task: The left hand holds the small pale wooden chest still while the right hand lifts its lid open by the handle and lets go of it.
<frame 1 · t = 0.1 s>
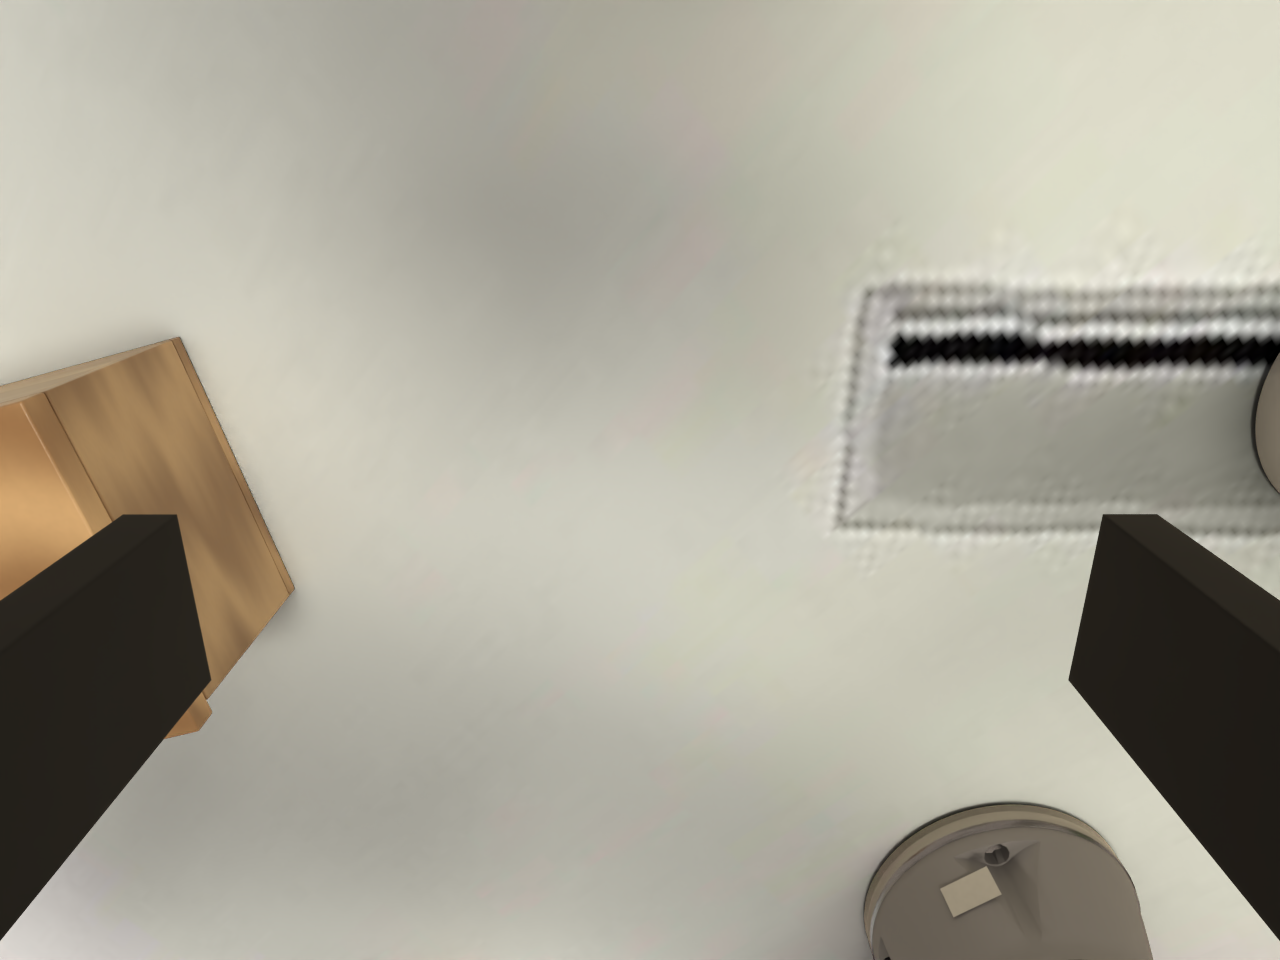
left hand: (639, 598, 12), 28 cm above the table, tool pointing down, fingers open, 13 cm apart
chest: (151, 492, 42), on the table
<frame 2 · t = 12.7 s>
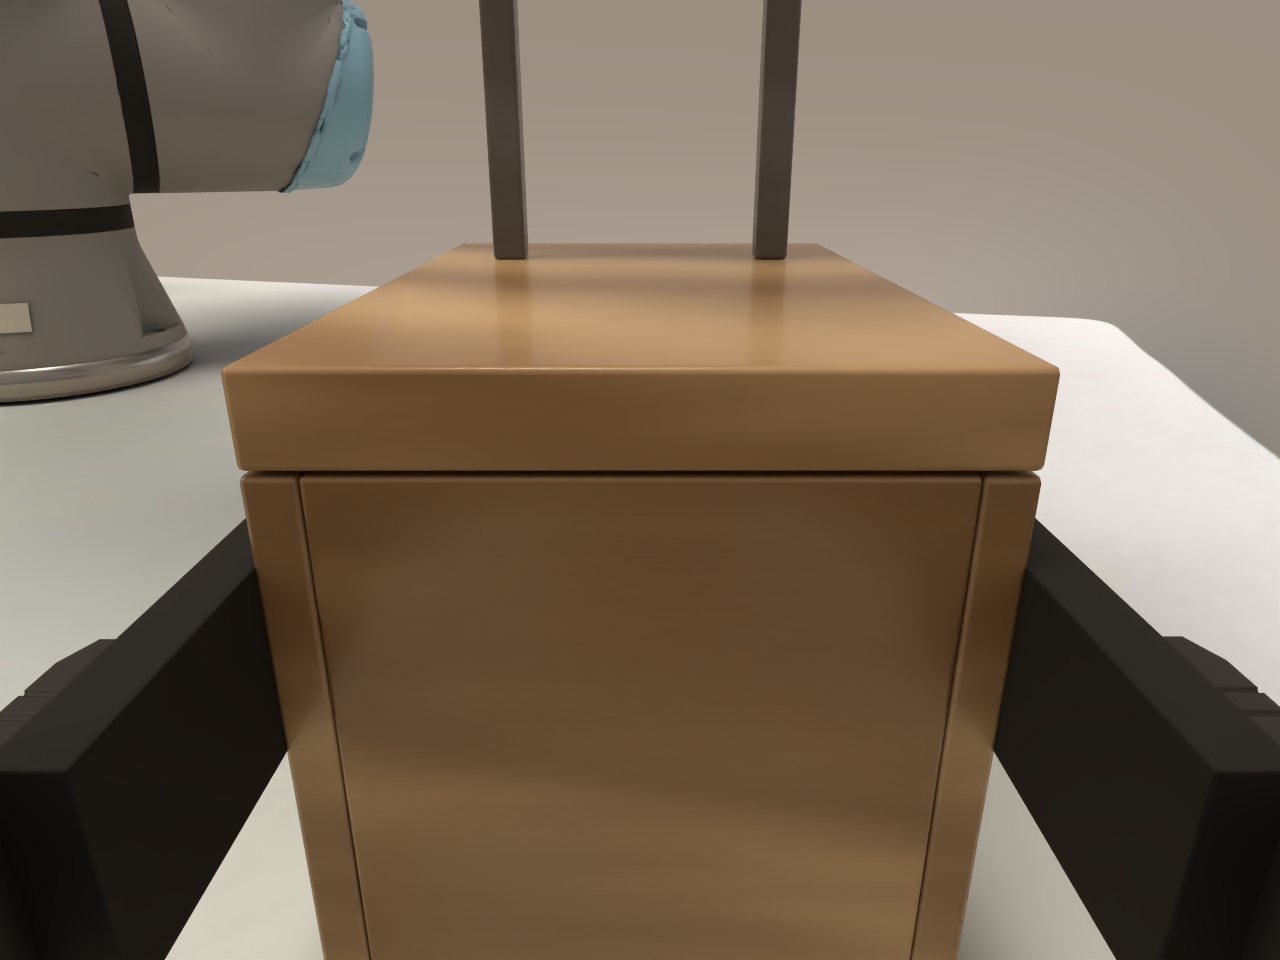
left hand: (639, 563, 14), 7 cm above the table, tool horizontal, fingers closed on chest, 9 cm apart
chest: (640, 763, 20), on the table, touching left hand
lid: (640, 73, 15), point 14 cm above the table, hinge at 0.0°
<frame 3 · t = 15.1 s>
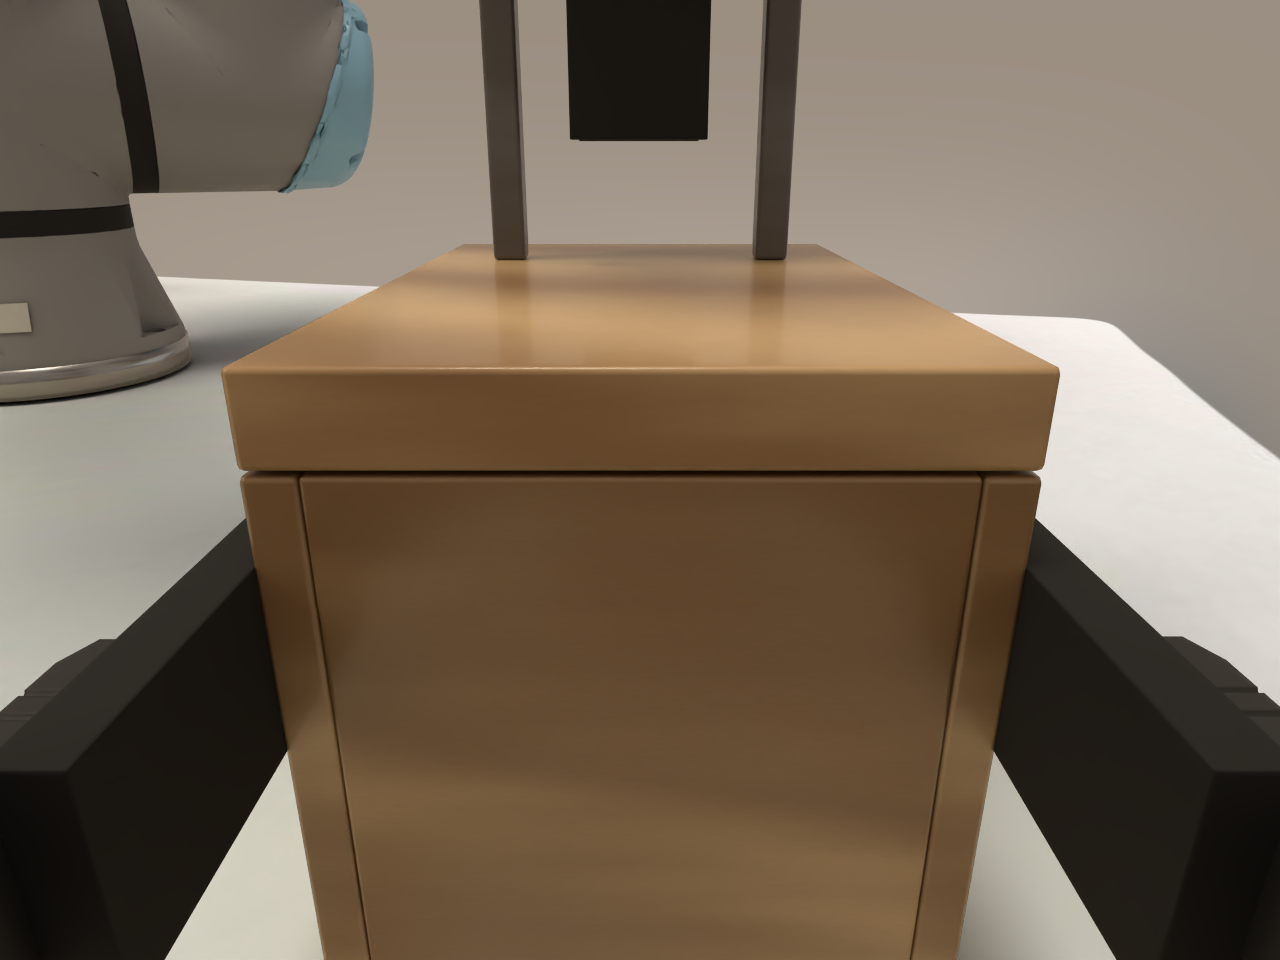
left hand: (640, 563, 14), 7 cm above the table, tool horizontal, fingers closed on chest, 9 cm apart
chest: (640, 763, 20), on the table, touching left hand
lid: (640, 73, 15), point 14 cm above the table, hinge at -0.1°, touching right hand
when the left hand's fingers open (7 cm above the table, at t = 22.0 s): chest stays where it is, on the table.
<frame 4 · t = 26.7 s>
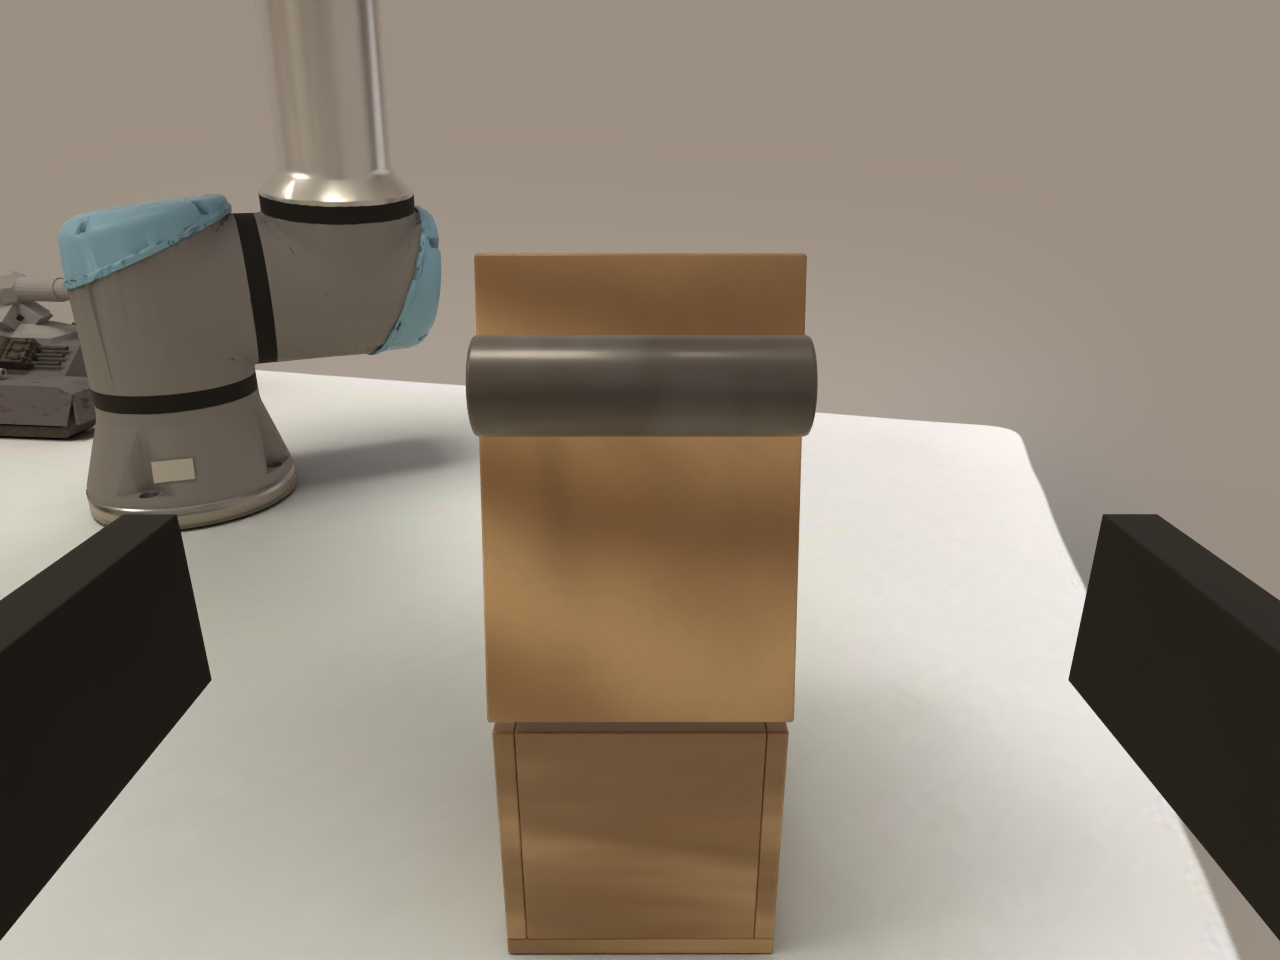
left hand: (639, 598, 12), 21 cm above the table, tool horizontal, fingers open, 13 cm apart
chest: (640, 817, 37), on the table
toy: (43, 410, 95), on the table
lid: (640, 521, 22), point 18 cm above the table, hinge at 77.7°
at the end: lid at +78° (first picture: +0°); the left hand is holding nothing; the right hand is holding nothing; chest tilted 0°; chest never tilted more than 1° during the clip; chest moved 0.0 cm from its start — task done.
